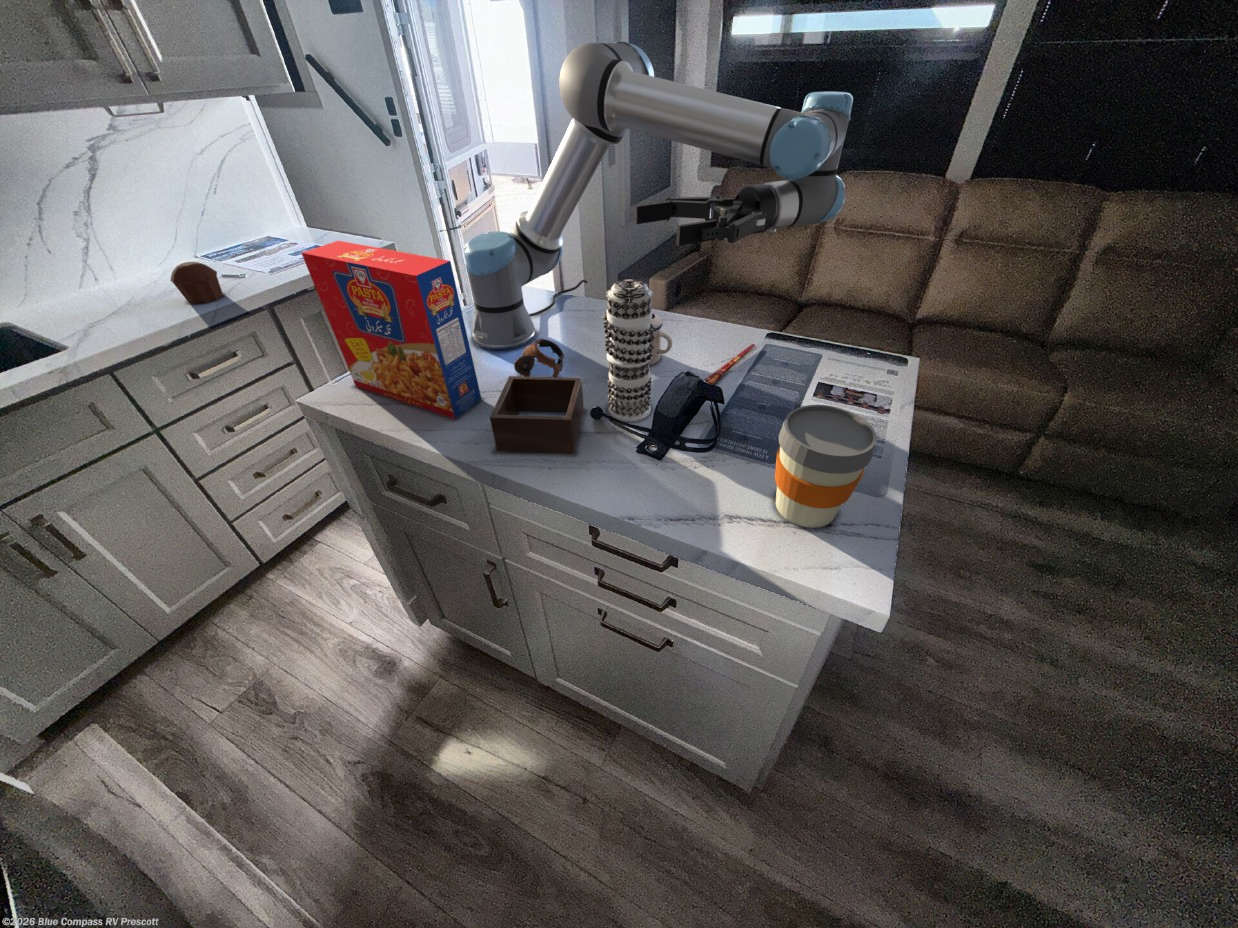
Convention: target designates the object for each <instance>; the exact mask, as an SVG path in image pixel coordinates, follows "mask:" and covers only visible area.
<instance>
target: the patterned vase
mask: <svg viewBox="0 0 1238 928" xmlns="http://www.w3.org/2000/svg"><path fill="white" fill-rule="evenodd" d="M654 295H655V294H654V291H653V290H652V289H651V288H649V287H648V285H647V283H645V282H644V281H641V280H637V279H622V280H619V281H616V282H614V283H613V285H612V286H611V288H610V289H608V290H607V291H606V292H605V296H606V300H607V301H606V302H607V309H606V312H605V313H604V315H603V317H602V320H603V328H604V329H603V333H605V335H604V346H605V351H606V359H607V362H608V365H609V366H608V367H609V369H608V377H607V378H606V381H607V406H608V413H609V414H610V416H611V417H612V418H614V419H616V420H618V421H622V422H638V421H640V420H644V419H646V418H647V417H648V416H649V415H650V413H651V409H652V408H651V406H652V403H651V399H652V392H651V391H652V383H653V381H652V376H651V369H650V366H651V365H650V363H649V362H650V360H651V359H652V356H653V354H652V352H651V351H652V349H653V348H654V347H653V346H652V343H650V342H652V341H653V339H654V338H655V337H654V334H653V331H655V327H654V325H653V324H651V323H650V321H651V319H654V318H655V315H656V314H655V313H653V310H652V308H651V307H652V298H653V296H654ZM654 314H655V315H654Z"/></svg>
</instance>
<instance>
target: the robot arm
mask: <svg viewBox="0 0 1238 928" xmlns="http://www.w3.org/2000/svg"><path fill="white" fill-rule="evenodd" d="M558 88H559V95H560V99H561V101H562V105H563V106H564V108H565V110H566V112H567V113H568V115H569V116H570V117H571V118H572V119H571V121H570V123H569V125H568V127H567V129H566V132H565V134H564V136H563V138H562V140H561V142H560V144H559V146H558V149H557V151H556V152H555V155H554V157H553V159H552V162H551V163H550V165H549V167H548V170H547V171H546V174H545V176H544V178H543V180H542V183H541V185H540V187H539V189H538V191H537V193H536V195H535V198H534V199H533V202H532V204H531V206H530V208H529V210H524V211H522V212H521V213H519V215H518V217H517V219H516V221H515V223H514V226H513V228H512V230H511V231H510V232H506V231H499V230H498V231H496V230H495V231H489V232H487V233H481V234H478V235H476V236H474V237H472V238H471V239H469V240H468V241H467V242H466V243H465V245H464V247H463V248H464V249H463V254H464V265H465V269H466V273H467V276H468V283H469V286H470V291H471V295H472V300H473V304H474V316H473V325H472V336H473V337H472V339H473V342H474V343H475V345H476V346H478V347H479V348H482V349H484V350H490V351H508V350H515V349H518V348H521V347H524V346H527V345H528V344H529V343H531V342H532V341H533V340H534V339H535V338H536V328H535V324H534V323H533V320H532V318H531V317H535V316H538V315H540V314H542V313H544V312H546V311H548V310H550V309H551V308H552V307H554V306H555V305H556V297H558V296H560V295H562V294H565V293H569V292H572V291H575V290H577V289H578V288H579V287H580V286H581V285H582V284H583V283H584V284H588V281H587V280H586V279H581V280H580V281H579V282H578V283H577V284H576V285H575V286H574V287H570V288H567V289H563V290H560V291H558V292H556V293H554V294H553V296H552V302H551V303H550V304H549V305H547V306H546V307H544V308H542V309H540V310H538V311H536V312H531V313H529V312H528V310H527V308H526V306H525V302H524V295H523V287H524V286H525V285H528V284H529V283H531V282H533V281H534V280H536V279H538V278H540V277H542V276H545V275H548V274H549V273H550V272H552V271H553V270H554V269H555V268H556V267H558V266H557V265H559V263H560V262H561V259H562V256H563V243H564V235H563V230H564V229H565V227H566V225H567V223H568V221H569V220H570V218H571V216H572V214H573V212H574V211H575V209H576V207H577V205H578V203H579V202H580V200H581V198H582V197H583V195H584V192H585V190H586V189H587V187H588V185H589V183H590V182H591V180H592V178H593V176H594V174H595V173H596V171H597V169H598V167H599V165H600V164H601V162H602V160H603V158H604V156H605V154H606V153H607V152H608V149H609V147H610V146H615V145H618V144H620V143H621V142H622V140H623V138H624V136H625V135H626V133H627V131H628V130H631V131H635V132H639V133H641V134H642V133H643V134H646V135H650V136H654V137H658V138H660V139H664V140H667V141H671V142H676V143H680V144H683V145H686V146H691V147H694V148H698V149H701V150H705V151H709V152H711V153H715V154H720V155H724V156H727V157H731V158H735V159H738V160H741V161H746V162H749V163H752V164H756V165H761V166H763V167H766V168H768V169H769V168H770V169H773V170H774V171H775V173H776V174H777V175H778V176H780V177H781V178H784V179H785V180H778V181H777V180H776V181H770V182H764V183H758V184H749V185H745V186H743V187H742V188H741V189H740V190H738V192H737V194H736V196H735V198H733V197H724V198H722V196H721V195H712V196H682V197H681V196H679V197H678V196H677V197H676V196H675V197H672V196H667V197H665V198H664V201H659V202H652V203H644V204H638V205H634V224H635V225H642V224H648V223H649V224H650V223H656V222H662V221H666V222H668V223H669V222H670V221H671V218H683V219H700V220H701V219H704V220H702V221H696V222H690V223H683V224H678V225H677V226H676V227H677V228H676V243H675V244H676V246H678V247H681V246H687V245H693V244H697V243H704V242H710V241H715V240H716V239H717V240H718V241H725V240H726V239H727V243H729V244H733V243H737V242H738V241H740V240H742V239H744V238H746V237H748V236H751V235H757V234H761V233H765V232H770V233H771V234H775V233H776V231H777V230H784V229H788V228H789V229H790V228H794V227H802V226H809V225H810V226H812V225H817V224H820V223H823V222H824V223H825V222H827V221H829V220H831V219H834V217H837V215H838V214H839V213H840V212H841V210H842V208H843V207H844V204H845V201H846V193H845V187H846V186H845V183H844V181H843V180H842V178H841V177H839V176H838V175H837V173H838V167H839V163H840V159H841V154H842V150H843V146H844V142H845V139H846V135H847V130H848V126H849V122H851V112H852V108H853V107H852V106H853V102H854V97H853V95H852V94H851V93H849V92H846V91H813V92H810V93H808V94H806V96H805V98H804V100H803V105H802V109H801V111H797V110H793V109H788V108H783V107H780V106H777V105H776V106H775V105H771V104H766V103H763V102H760V101H755V100H751V99H747V98H743V97H738V96H734V95H730V94H726V93H722V92H719V91H715V90H710V89H705V88H702V87H698V86H694V85H689V84H686V83H681V82H677V81H673V80H670V79H665V78H661V77H658V76H657V77H656V76H655V70H654V67H653V64H652V62H651V60H650V58H649V57H648V54H647V53H646V52H645V51H644V50H643V49H642V48H640V47H639V46H637V45H635V44H633V43H628V42H627V41H622V40H620V41H615V42H592V41H591V42H586V43H582V44H580V45H578V46H576V47H575V48H573V49H572V50H571V51H570V53H568V55H567V56H566V58H565V59H564V61H563V63H562V65H561V67H560V72H559V77H558ZM557 293H558V294H557Z"/></svg>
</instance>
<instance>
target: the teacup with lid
mask: <svg viewBox="0 0 1238 928" xmlns="http://www.w3.org/2000/svg"><path fill="white" fill-rule="evenodd" d="M653 314H654V315H655V318H654V319H651V321H650V323H651V324H653V325H654V327H655V331H653V334H654V337H655V338H654V339H653V341H652V342H650V343H652V346H653V347H654V348H653V349H652V351H651V352H652V354H653V356H652V359H651V360H650V362H649V363H650V366H651V365H654V364H656V363H657V362H658V361H659V360H660V358H661V355H665V354H667V353H669V352H670V350H671V349H672V347H673V339H672V337H671V336H670V335H669V334H668V333H666V332H664V331H662V327H663V325H664V322H663V319H662V318H661V317H660V316H659V315H657V314H655V313H653ZM662 338H663V339H665V340H666V342H667V346H666V348H665V349H661V347H662V346H661V345H662Z"/></svg>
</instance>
